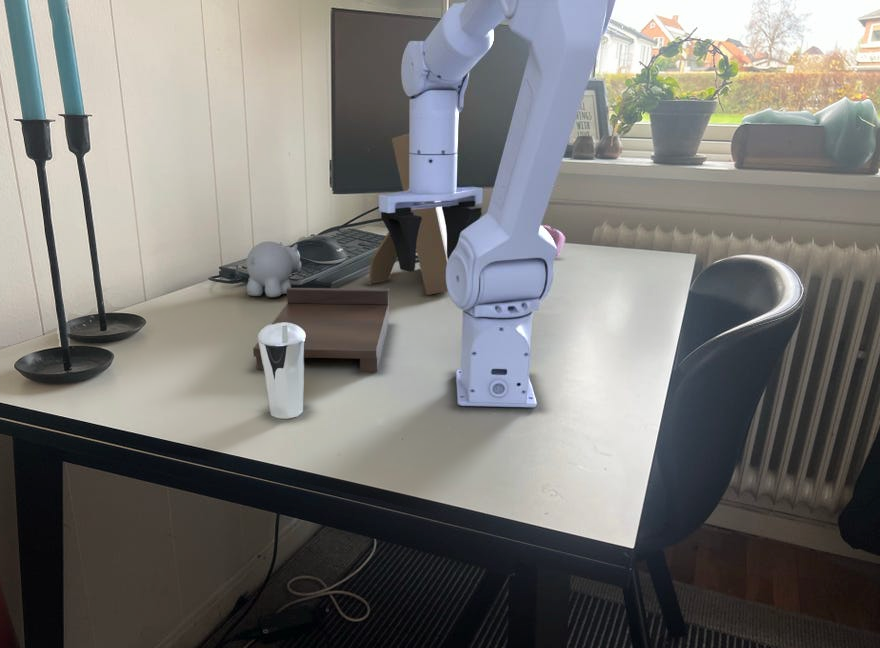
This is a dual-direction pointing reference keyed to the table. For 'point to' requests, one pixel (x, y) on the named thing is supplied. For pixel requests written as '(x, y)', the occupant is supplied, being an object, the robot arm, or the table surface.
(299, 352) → the milkshake
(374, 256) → the photo frame
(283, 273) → the round bodied animal figurine
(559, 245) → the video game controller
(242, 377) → the table surface
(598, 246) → the table surface
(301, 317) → the shelf
